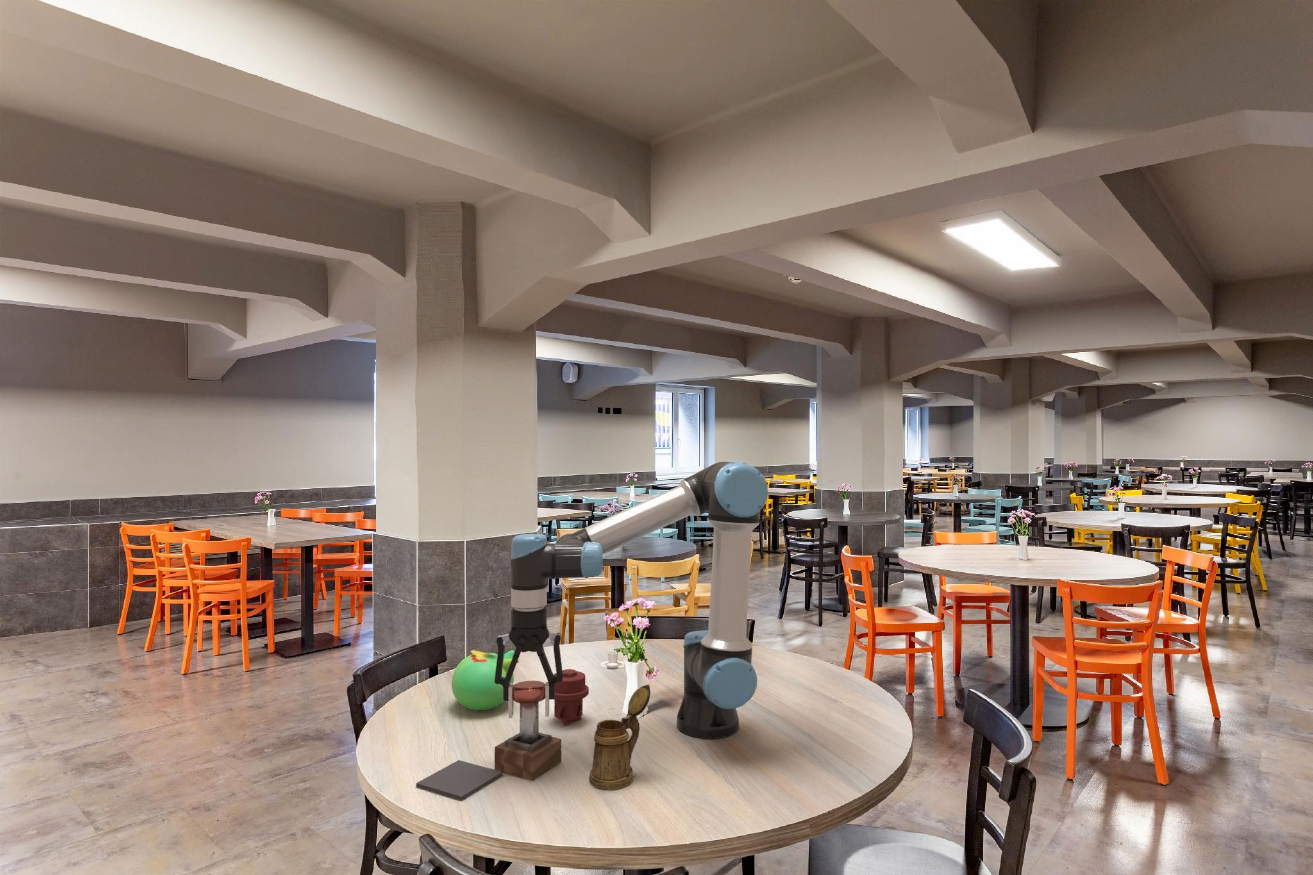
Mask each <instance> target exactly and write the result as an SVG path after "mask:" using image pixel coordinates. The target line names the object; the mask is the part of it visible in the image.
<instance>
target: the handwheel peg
mask: <svg viewBox="0 0 1313 875" xmlns="http://www.w3.org/2000/svg"><path fill="white" fill-rule="evenodd" d="M545 684H546V682H543V681H540V680H523V681H519V682H517V683H513V702H515V703H517V704H519V733H520V742H522V743H526V744H530V745H531V744H533V743H534V742H536V741H538V740H539V733H540V730H539V728H540V726H539V723H540V722H539V721H540V720H539V719H540V718H539V716H540V715H539V714H540V713H539V709H540V707H539V706H540V704H539V702H542V701H545Z"/></svg>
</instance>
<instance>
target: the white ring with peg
mask: <svg viewBox="0 0 1313 875" xmlns="http://www.w3.org/2000/svg"><path fill="white" fill-rule="evenodd" d="M617 652H618V651H613V650H612V651H609V652H607V657H608V658H607V660H605V661H602V662H601V663H600V666H601V667H602V668H604V669H620V668H624V667H625V666H624V662H625V661H622V660H619V658H618V656H619V652H618V653H617ZM620 663H621V665H620V666H619V664H620ZM605 664H606V665H605Z"/></svg>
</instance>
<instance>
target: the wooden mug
mask: <svg viewBox="0 0 1313 875" xmlns="http://www.w3.org/2000/svg"><path fill="white" fill-rule="evenodd" d="M650 687H651V686H650V684H644V685H642V686H640V687H639V688H637V689H636V690H635V691H634V692H633V694H632V695H631V697H630V699H629V700H628V705H627V714H626V716H624V717H622V718H621V721H620V720H616V719H605V720H602V721H599V722H597V724H596V730H595V732H594V735H593V741H594V742H595V743H594V748H593V749H594V750H593V756H592V757H593V758H592V765H591V769H590V772H589V777H588V779H589V780H588V781H589V783H590V784H591V786H593V787H595V788H598V789H601V790H607V791H608V790H611V791H612V790H619V789H623V788H625V787H627V786H628V785H631V783H632V782H633V780H634V771H633V767H632V765H631V762H632V761H631V760H632V755H633V751H634V749H635V746H636V744H637V741H638V739H639V735H640V722H639V719H638V717H639V716H640V715H641V714H643V712H644V711H645V709H646V708H647V707H648V705H649V702H650V700H651V699H650V697H651V688H650ZM628 729H629V730H631V736H630V735H629V732H628ZM629 736H630V738H629Z"/></svg>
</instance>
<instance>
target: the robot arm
mask: <svg viewBox="0 0 1313 875" xmlns="http://www.w3.org/2000/svg"><path fill="white" fill-rule="evenodd" d="M768 494H769V487H768V483H767V481H766V479H765V477H764V475H763V473H761V471H760V470H758V469H757V468H756V467H755V466H752V465H750V464H748V463H745V462H740V461H738V462H737V461H736V462H735V461H734V462H733V461H732V462H731V461H719V462H716V463H712V464H711V465H709V466H706V467H705V468H704V469H701V470H700V471H698V472H696V473H693V474H692V475H690V476H687V477H686V478H684V479H681V481H680V483H679V484H678V485H677V486H676V487H674V488H671V489H669V490H666V491H665V492H662V493H660V494H658V495H655V496H653V497H651V498H649V499H647V500H644V501H642V502H640V503H638V504H636V505H633V506H631V507H628V508H627V509H625V510H622V511H620V512H618V513H615V514H613V515H610V516H608V517H606V518H604V519H601V520H599V521H597V522H595V523H592V524H591V525H588V526H586V527H584V528H582V529H579V530H577V531H575V532H573V533H565V534H563V535H561V536H559V538H557V539H556V541H555V543H551V542H548V540H547V536H546V535H544V534H542V533H541V534H539V533H523V534H518V535H515V536H514V537H513V538H512V539H511V548H510V549H511V550H510V581H511V583H510V585H511V586H510V601H511V602H510V606H511V607H512V609H511V612H510V627H511V628H510V631H509V633H506V634H501V633H500V634H498V635H497V637H496V639H495V641H496V645H497V654H498V655H497V664H496V672H495V681H494V682H495V684H500V685H502V686H503V700H504V702H508V719H513V715H514V701H513V685H514V683H510V680H511V677H512V675H513V674H514V672H515V670H516V666H517V664H518V663H517V661H518V660H519V658H520V656H521V653H528V652H531V653H536V655H537V657H538V658H539V661H540V664H541V666H542V670H543V672H544V675H545V677H546V680H547V681H545V699H544V701H545V702H544V708H545V709H544V710H545V711H544V713H545V715H544V716H545V718H546V717H547V718H548V717H550V701H551V700H553V699H554V696H555V683H557V682H561V681H562V680H563V671H562V670H563V663H562V662H563V661H562V656H561V655H562V654H561V648H560V643H561V640H562V639H561V638H562V633H560V632H556V633H554V632H550V630H549V629H548V619H547V618H548V613H547V612H548V609H547V607H546V606H547V604H548V602H547V601H548V597H547V596H548V592H547V589H548V585H547V583H548V581H547V580H548V579H550V580H551V579H552V580H553V579H580V578H584V579H587V578H593V577H599V576H600V575H602V572H603V568H604V567H603V564H604V558H603V557H604V555H605V554H607V553H609V552H612V551H614V550H616V549H618V548H621V547H622V546H623V547H624V546H625V545H627V544H629V543H631V542H633V541H636V540H638V539H640V538H643V537H644V536H645V537H646V536H647V535H649V534H651V533H653V532H656V531H658V530H661V529H662V528H664V527H667V526H670V525H671V524H673V523H676V522H678V521H681V520H683V519H685V518H687V517H690V516H692V515H693V516H696V517H699V516H701V515H704V514H707V513H708V515H707V517H708V518H707V521H708V523H709V524H710V525H711V526H712V527H713V541H712V542H713V544H712V558H711V561H712V562H711V575H710V576H711V578H710V593H709V594H710V595H709V608H708V609H709V614H708V627H707V628H708V629H707V630H694V631H689V632H687V633H686V634H685V636H684V638H683V639H684V641H683V645H682V646H683V696H682V700H681V702H680V705H679V709H678V712H677V715H676V728H677V729H678V731H680V732H681V733H682V734H684V735H687V736H690V737H693V738H699V739H721V738H726V737H729V736H732V735H734V734H735V733H737V732H738V731H739V729H740V719H739V715H738V714H739V713H738V711H737V709H738V708H741V707H743V706H744V705H746V703H747V702H749V701H750V700H751V699H752V698H753V697H754V694H755V693H756V691H757V686H758V676H757V672H756V669H755V668H754V666H753V665H752V662H753V661H752V660H753V643H752V642H751V641H750V640H749V639H748V637H747V630H748V629H747V624H748V610H749V608H748V607H749V594H750V593H749V592H750V591H749V589H750V573H751V554H752V539H753V535H752V534H753V530H754V529H755V528H757V526H759V525H760V517H761V510H762V509H763V508H764V506H765V505H766V503H767V500H768V497H769V496H768ZM549 639H550V640H549ZM509 640H510V642H511V643H512V644H513V646H514V647H515V650H514V655H513V658H512V660H511V663H510V666H509V669H508V671H507V674H506V677H505V678H504V677H502V669H503V660H504V654H505V650H506V646H507V644H508V642H509ZM548 640H549V641H550V643H551V644H552V646H553V647H552V648H553V656H554V657H553V658H554V664H555V665H554V666H555V671H556V672H555V673H556V674H557V675H553V674H554V673H553V671H552V668H551V665H550V663H549V660H548V657H547V655H546V652H545V648H544V644H545V643H546V642H547V641H548Z"/></svg>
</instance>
